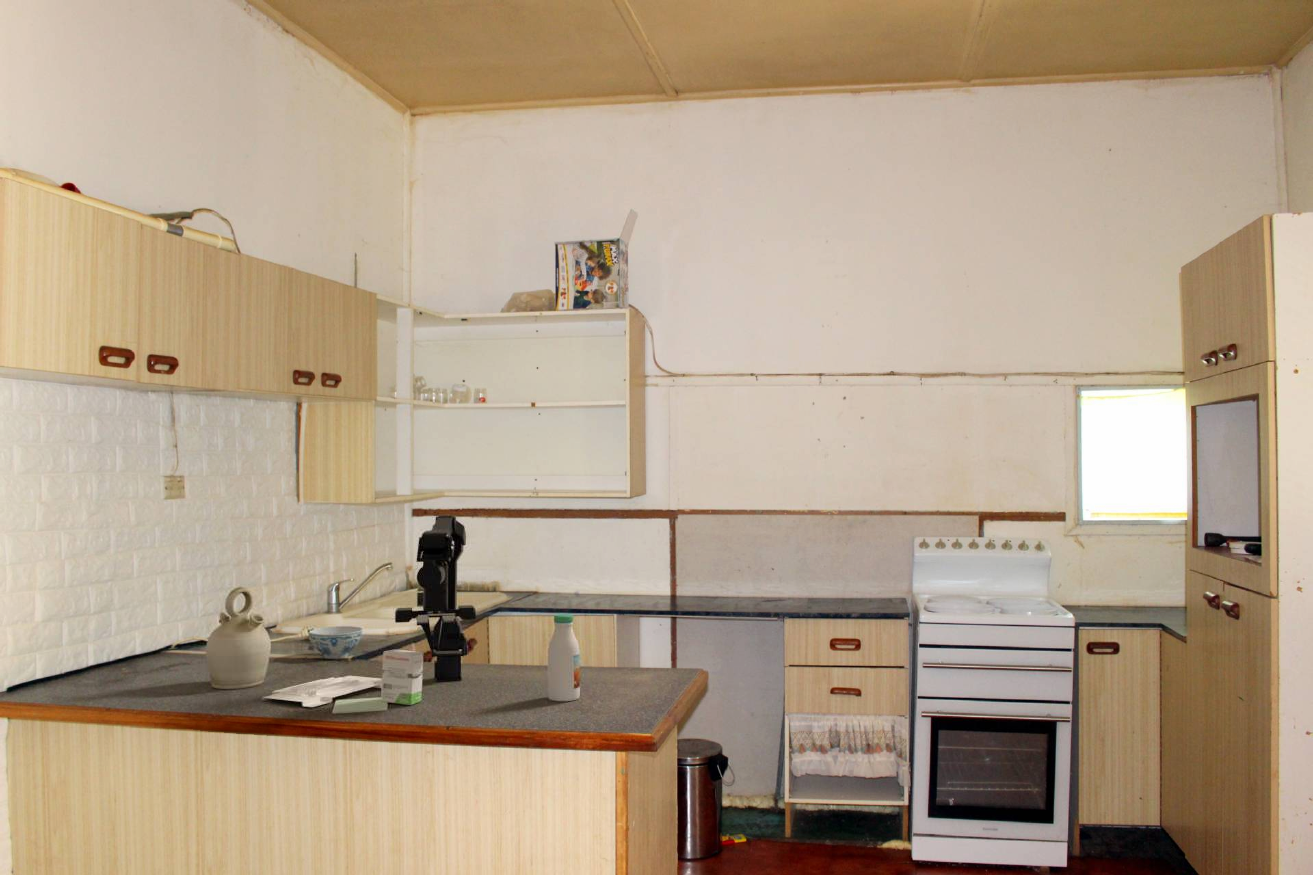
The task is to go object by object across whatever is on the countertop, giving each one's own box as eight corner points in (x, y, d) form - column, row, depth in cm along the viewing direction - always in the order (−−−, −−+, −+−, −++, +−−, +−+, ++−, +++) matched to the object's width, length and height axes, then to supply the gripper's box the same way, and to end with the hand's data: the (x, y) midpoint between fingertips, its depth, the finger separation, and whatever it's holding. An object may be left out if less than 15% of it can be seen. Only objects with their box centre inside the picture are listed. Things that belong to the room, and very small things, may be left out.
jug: (281, 683, 256) (281, 586, 256) (221, 693, 244) (221, 592, 245) (254, 675, 266) (255, 582, 267) (195, 684, 255) (196, 587, 255)
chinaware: (348, 649, 303) (348, 624, 304) (371, 656, 292) (371, 630, 293) (300, 656, 293) (300, 630, 294) (322, 663, 282) (322, 636, 282)
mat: (388, 698, 238) (388, 696, 238) (387, 710, 226) (387, 708, 226) (336, 701, 235) (336, 699, 235) (332, 713, 224) (332, 711, 224)
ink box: (422, 701, 235) (424, 651, 235) (410, 705, 230) (413, 654, 231) (391, 697, 238) (394, 648, 238) (379, 701, 233) (382, 651, 234)
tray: (251, 700, 237) (251, 684, 238) (338, 682, 262) (338, 668, 262) (312, 707, 228) (313, 690, 228) (397, 687, 253) (397, 673, 253)
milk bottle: (566, 703, 232) (566, 618, 233) (541, 699, 236) (540, 615, 237) (586, 697, 239) (586, 614, 239) (560, 693, 243) (560, 611, 243)
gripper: (473, 579, 247) (473, 642, 246) (395, 582, 242) (395, 645, 242) (475, 584, 236) (475, 650, 236) (395, 587, 232) (395, 654, 231)
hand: (435, 649), depth 236 cm, fingers closed
